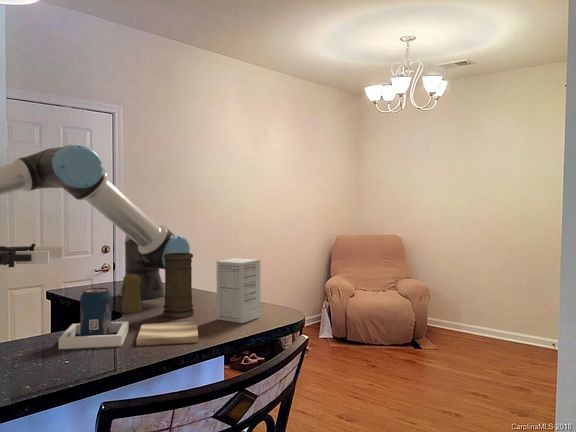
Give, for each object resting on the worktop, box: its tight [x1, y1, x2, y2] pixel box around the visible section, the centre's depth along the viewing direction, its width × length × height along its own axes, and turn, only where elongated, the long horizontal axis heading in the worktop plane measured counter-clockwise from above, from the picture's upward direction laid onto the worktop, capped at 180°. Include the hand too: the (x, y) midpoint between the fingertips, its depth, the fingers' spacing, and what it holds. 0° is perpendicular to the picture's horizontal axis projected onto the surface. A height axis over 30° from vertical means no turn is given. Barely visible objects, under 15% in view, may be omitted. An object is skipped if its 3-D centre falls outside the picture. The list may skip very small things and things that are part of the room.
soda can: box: [79, 287, 112, 336], centre depth 114 cm, size 7×7×12 cm
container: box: [162, 252, 195, 319], centre depth 140 cm, size 9×9×18 cm
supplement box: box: [216, 257, 262, 324], centre depth 136 cm, size 10×9×17 cm
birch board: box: [136, 321, 199, 346], centre depth 118 cm, size 14×14×2 cm
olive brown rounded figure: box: [121, 274, 143, 314], centre depth 145 cm, size 6×6×11 cm
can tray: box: [58, 320, 130, 350], centre depth 114 cm, size 13×13×2 cm
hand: (56, 254), depth 112 cm, fingers open, 13 cm apart
